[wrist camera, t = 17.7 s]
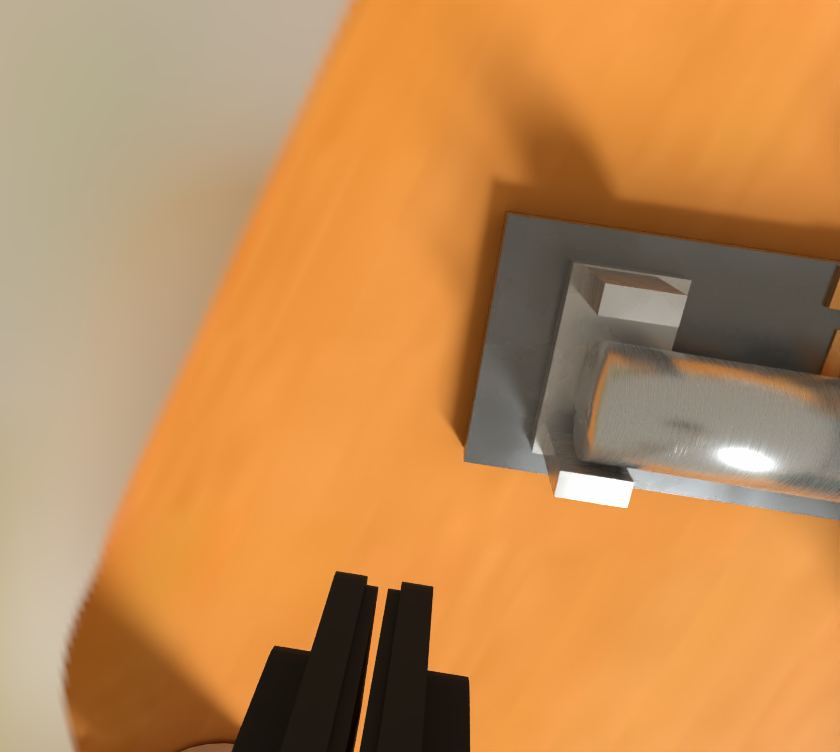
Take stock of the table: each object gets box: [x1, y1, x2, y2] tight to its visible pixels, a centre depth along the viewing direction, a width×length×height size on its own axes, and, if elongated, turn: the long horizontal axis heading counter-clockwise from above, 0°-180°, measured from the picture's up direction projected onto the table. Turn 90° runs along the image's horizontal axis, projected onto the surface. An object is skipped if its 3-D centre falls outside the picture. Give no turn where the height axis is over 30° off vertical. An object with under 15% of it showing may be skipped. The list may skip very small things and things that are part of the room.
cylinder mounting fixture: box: [464, 211, 840, 520], centre depth 27 cm, size 25×12×6 cm, turn 83°
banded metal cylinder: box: [573, 340, 840, 503], centre depth 26 cm, size 18×5×5 cm, turn 82°
